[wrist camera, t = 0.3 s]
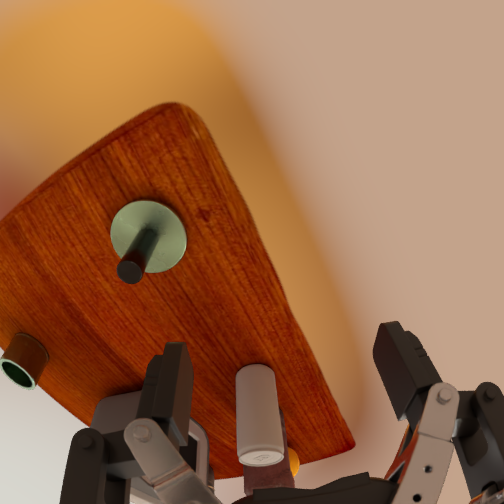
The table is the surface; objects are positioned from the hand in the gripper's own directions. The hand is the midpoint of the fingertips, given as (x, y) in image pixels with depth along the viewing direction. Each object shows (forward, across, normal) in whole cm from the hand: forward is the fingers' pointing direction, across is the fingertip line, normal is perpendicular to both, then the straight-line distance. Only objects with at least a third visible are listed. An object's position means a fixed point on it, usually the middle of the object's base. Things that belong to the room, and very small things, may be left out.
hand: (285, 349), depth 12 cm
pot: (+16, +33, +17) cm, 41 cm away
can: (+16, +1, +32) cm, 35 cm away
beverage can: (+16, +2, +22) cm, 27 cm away
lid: (+15, +10, +2) cm, 18 cm away
